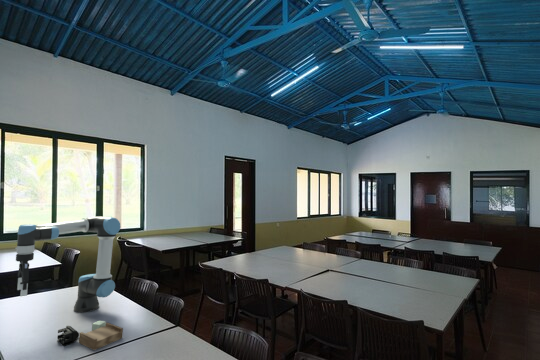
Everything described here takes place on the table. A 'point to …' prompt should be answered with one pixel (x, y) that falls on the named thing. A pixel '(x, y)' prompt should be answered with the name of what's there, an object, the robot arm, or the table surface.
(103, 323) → the sage cube
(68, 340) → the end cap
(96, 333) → the pedestal
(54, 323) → the table surface
